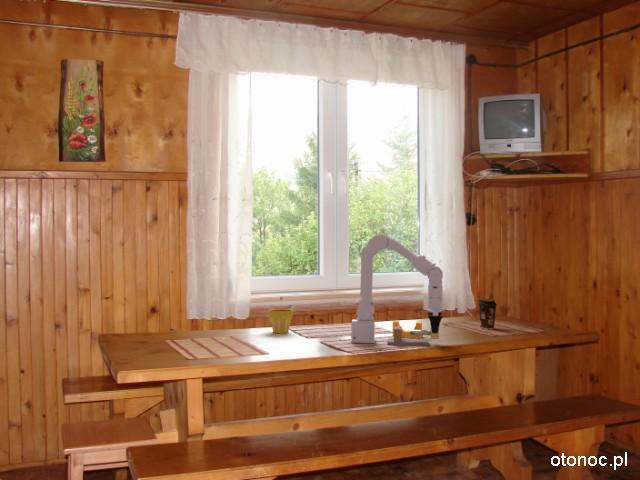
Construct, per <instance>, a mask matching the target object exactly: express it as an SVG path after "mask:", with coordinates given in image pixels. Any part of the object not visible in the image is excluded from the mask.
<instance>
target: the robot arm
mask: <svg viewBox="0 0 640 480" xmlns="http://www.w3.org/2000/svg"><path fill="white" fill-rule="evenodd" d="M385 249H386V250H387V251H394V252H396V253H398V254H399V255H400V256H402V257H403V258H405V259H407V260H408V261H409V262H411V267H412V268H413V269H415V270H416V271H417V272H419V273H420V274H421V275H423V276H427V279H428V285H427V307H426V310H427V311H428V312H427V313H426V314H427V318H428V320H429V322H430V330H431V329H432V333H438V330H439V331H440V324H441V321H442V319H443V315H442V314H443V312H445V311H446V308H443V291H444V290H443V288H444V287H443V277H444V272H443V270H442V268H440V267H439V266H437V264H436V263H432V262H431V261H429V259H427V256H425V255H421V254H418V255H416V254H414V253H413V252H412V251H410V250H409V249H408V248H406V247H405V246H404V245H403V244H401V243H400V242H399V241H397V240H396V239H394V238H392V237H390V236H388V235H387V234H384V233H377V234H375V235H374V236H373V237H371V238H369V240H368V242H367V243H366V244H365V246H364V248H363V249H362V251H361V253H360V254H361V255H360V257H361V259H360V290H359V292H360V295H359V300H358V301H359V302H358V304H359V305H358V307H357V308H356V316H357V317H356V319H352V320H351V329H350V330H351V332H350V340H351V341H350V342H351V343H357V344H358V343H360V344H361V343H362V344H364V343H365V344H375V343H376V342H377V341H376V340H377V339H376V338H375V329H376V328H375V326H376V325H375V324H376V323H375V318H374V316H373V315H374V314H375V310H376V308H375V306H374V303H373V298H374V297H373V277H374V276H373V274H374V273H373V272H374V256H376V255H377V254H379V252H380V251H383V250H385Z"/></svg>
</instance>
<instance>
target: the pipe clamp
mask: <svg viewBox="0 0 640 480" xmlns="http://www.w3.org/2000/svg"><path fill="white" fill-rule="evenodd" d="M394 326H401V325H400V322H399V320H393V321H392V337H394ZM412 330H424V329H423V322H420V321H419V322H418V321H416V323H415V325H414V328H413V329H412ZM408 337H409V338H408ZM423 337H424V335H410V330H405V329H403V328H402V338H408V339H423Z"/></svg>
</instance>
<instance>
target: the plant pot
mask: <svg viewBox="0 0 640 480" xmlns="http://www.w3.org/2000/svg"><path fill="white" fill-rule="evenodd" d="M268 311H269V313H268V318H269V319H270V323H271V328H272V332H273V333H274V334H288V333H289V330H290V326H291V322H292V319H293V315H294V310H293V309H290V308H272V309H269V310H268Z"/></svg>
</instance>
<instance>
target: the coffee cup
mask: <svg viewBox="0 0 640 480" xmlns="http://www.w3.org/2000/svg"><path fill="white" fill-rule="evenodd" d="M497 305H498V304H497V302H496V301H495V300H494V299H487V298H483V299H479V300H478V306H479V310H478V316H479V321H480V325H479V326H480V327H479V328H480V329H482V328H485V329H484V330H494V329H495V321H496V314H497V313H496V311H497ZM493 328H494V329H493Z"/></svg>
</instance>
